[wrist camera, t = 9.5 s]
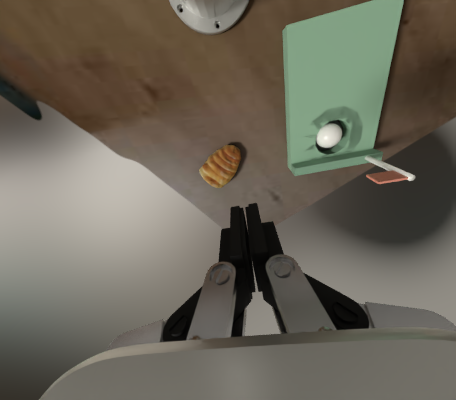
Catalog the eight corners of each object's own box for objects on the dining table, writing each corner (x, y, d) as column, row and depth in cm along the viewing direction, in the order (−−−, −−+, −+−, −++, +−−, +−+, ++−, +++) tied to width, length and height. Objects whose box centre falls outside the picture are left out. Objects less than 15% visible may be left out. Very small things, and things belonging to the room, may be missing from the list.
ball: (318, 154, 34) (316, 136, 35) (344, 148, 32) (341, 128, 33) (314, 143, 31) (312, 123, 32) (343, 135, 28) (339, 114, 30)
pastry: (223, 135, 35) (222, 139, 31) (249, 155, 37) (250, 161, 33) (198, 170, 39) (194, 177, 35) (222, 187, 41) (221, 195, 37)
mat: (282, 31, 26) (292, 18, 22) (390, 0, 25) (424, -21, 20) (288, 166, 37) (295, 175, 33) (363, 152, 35) (381, 160, 31)
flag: (330, 152, 36) (379, 180, 24) (353, 148, 35) (416, 174, 23) (329, 156, 36) (378, 186, 24) (352, 151, 35) (414, 180, 23)
